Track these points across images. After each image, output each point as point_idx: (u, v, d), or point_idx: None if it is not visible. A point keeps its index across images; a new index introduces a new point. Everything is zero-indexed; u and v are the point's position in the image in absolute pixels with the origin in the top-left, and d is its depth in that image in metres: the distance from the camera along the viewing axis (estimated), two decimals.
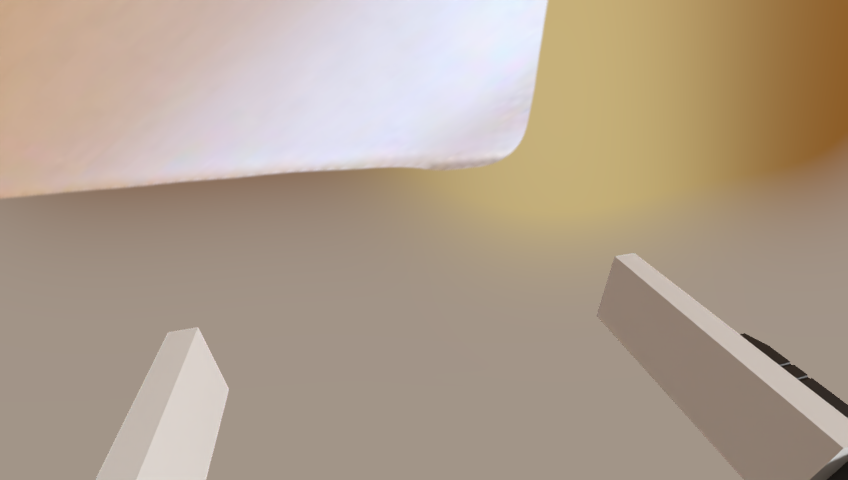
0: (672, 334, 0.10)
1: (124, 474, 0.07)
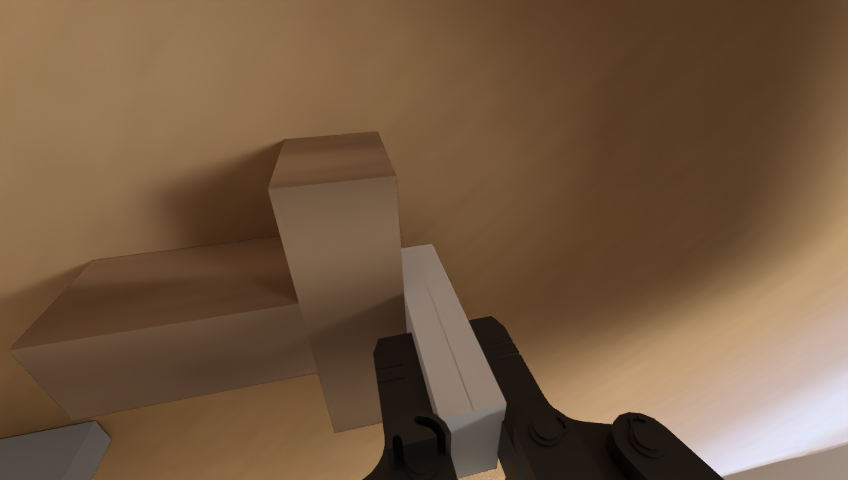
0: None
1: (430, 322, 0.10)
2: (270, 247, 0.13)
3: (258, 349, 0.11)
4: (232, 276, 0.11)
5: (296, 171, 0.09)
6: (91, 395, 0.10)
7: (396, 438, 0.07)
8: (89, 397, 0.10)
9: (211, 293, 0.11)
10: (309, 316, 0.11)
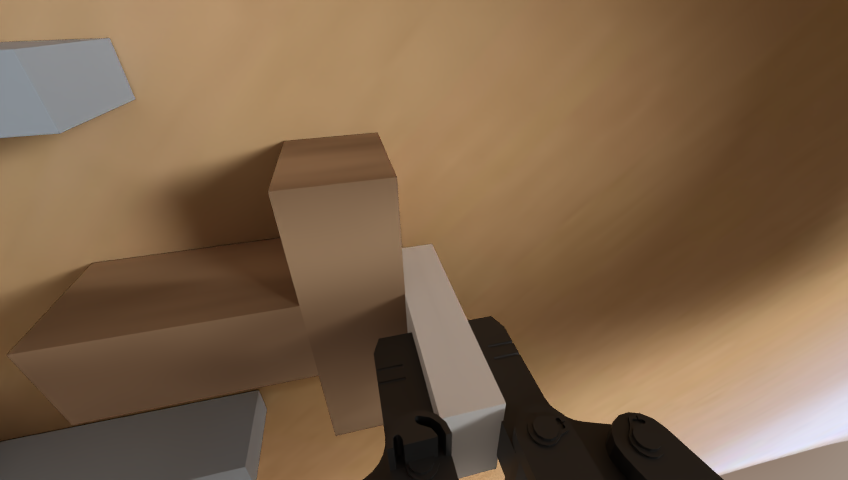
0: None
1: (430, 322, 0.10)
2: (270, 249, 0.13)
3: (258, 352, 0.11)
4: (232, 278, 0.11)
5: (296, 173, 0.09)
6: (90, 399, 0.10)
7: (397, 438, 0.07)
8: (88, 402, 0.10)
9: (210, 295, 0.11)
10: (310, 318, 0.11)
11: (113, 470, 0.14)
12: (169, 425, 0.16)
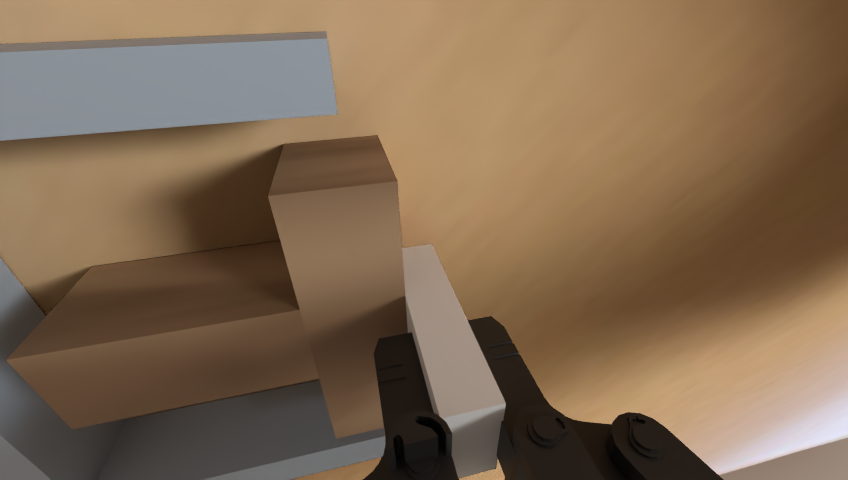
0: None
1: (430, 322, 0.10)
2: (270, 252, 0.13)
3: (258, 356, 0.11)
4: (232, 282, 0.11)
5: (296, 177, 0.09)
6: (90, 404, 0.10)
7: (397, 438, 0.07)
8: (88, 406, 0.10)
9: (211, 299, 0.11)
10: (310, 322, 0.11)
11: (261, 440, 0.15)
12: (300, 400, 0.17)
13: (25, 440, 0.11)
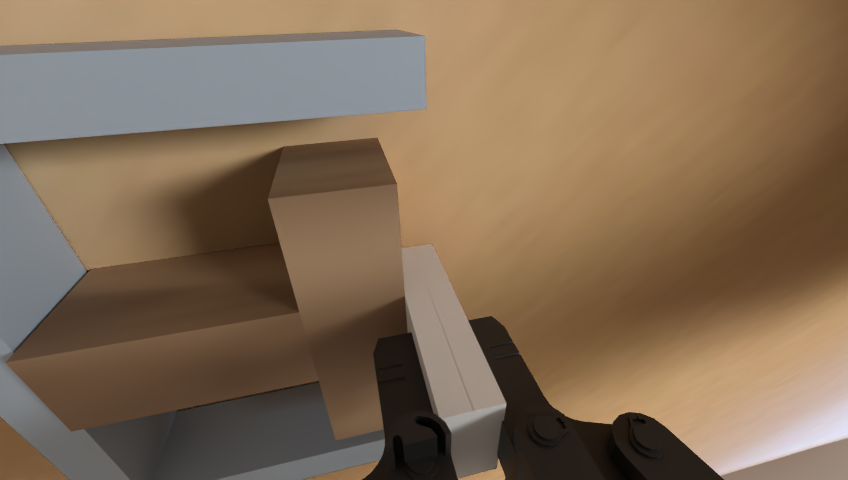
0: None
1: (430, 322, 0.10)
2: (270, 254, 0.13)
3: (258, 358, 0.11)
4: (232, 284, 0.11)
5: (296, 180, 0.09)
6: (90, 406, 0.10)
7: (396, 438, 0.07)
8: (88, 409, 0.10)
9: (210, 301, 0.11)
10: (310, 325, 0.11)
11: (312, 431, 0.15)
12: None
13: (98, 429, 0.12)
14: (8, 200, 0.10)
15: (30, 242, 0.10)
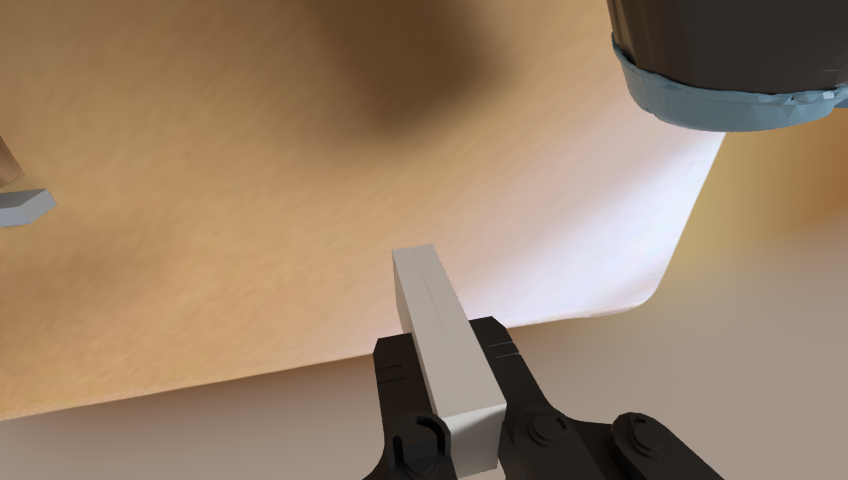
0: None
1: (429, 322, 0.10)
2: None
3: None
4: None
5: None
6: None
7: (396, 438, 0.07)
8: None
9: None
10: None
11: None
12: None
13: None
14: None
15: None
